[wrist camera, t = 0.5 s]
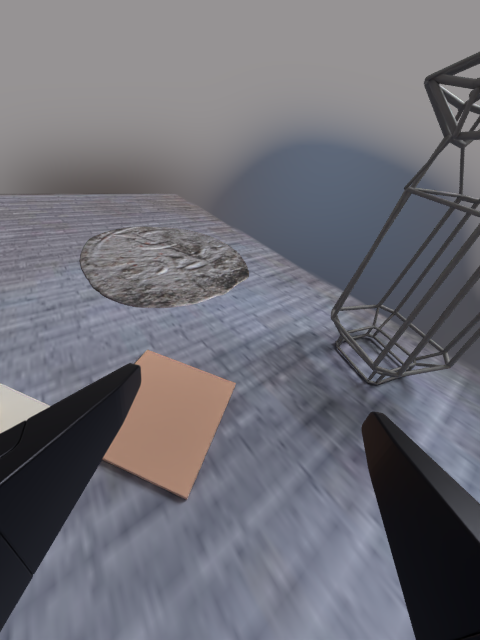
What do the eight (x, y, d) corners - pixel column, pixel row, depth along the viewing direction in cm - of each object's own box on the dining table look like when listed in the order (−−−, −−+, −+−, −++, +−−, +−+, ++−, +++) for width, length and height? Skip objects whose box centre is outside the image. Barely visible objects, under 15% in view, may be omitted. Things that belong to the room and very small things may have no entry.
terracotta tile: (186, 500, 20) (187, 497, 19) (66, 442, 21) (64, 439, 21) (235, 386, 29) (235, 383, 28) (147, 352, 31) (147, 349, 30)
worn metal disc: (172, 219, 69) (172, 218, 69) (273, 267, 56) (274, 265, 55) (39, 246, 47) (38, 244, 47) (152, 336, 33) (152, 334, 33)
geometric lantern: (302, 328, 39) (455, -28, 17) (374, 320, 44) (562, 38, 22) (367, 417, 28) (1023, -254, 6) (452, 392, 33) (974, -22, 11)
